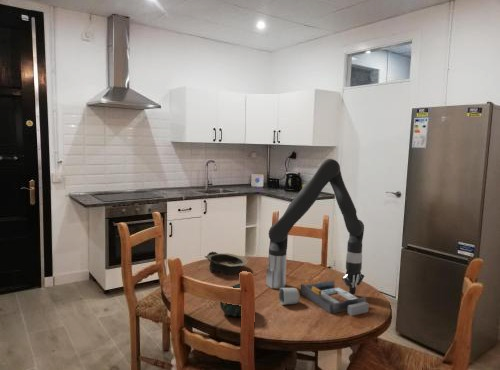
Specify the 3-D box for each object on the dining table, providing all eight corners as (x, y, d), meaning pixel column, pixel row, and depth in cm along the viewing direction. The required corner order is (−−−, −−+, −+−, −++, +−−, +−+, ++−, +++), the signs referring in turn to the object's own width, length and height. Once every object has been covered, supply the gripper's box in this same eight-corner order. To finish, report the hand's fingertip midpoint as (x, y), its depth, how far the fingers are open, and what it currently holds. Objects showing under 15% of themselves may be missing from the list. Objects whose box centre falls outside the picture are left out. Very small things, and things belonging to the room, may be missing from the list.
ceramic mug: (300, 305, 178) (301, 289, 177) (284, 307, 175) (284, 291, 175) (291, 297, 188) (291, 281, 187) (275, 298, 185) (276, 283, 185)
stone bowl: (195, 271, 220) (196, 255, 220) (223, 263, 241) (224, 248, 240) (230, 280, 206) (231, 263, 206) (255, 271, 227) (256, 255, 226)
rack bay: (330, 313, 170) (331, 298, 169) (300, 293, 192) (301, 280, 191) (365, 306, 179) (366, 291, 178) (332, 287, 201) (333, 274, 200)
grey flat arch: (314, 290, 191) (338, 286, 198) (314, 295, 192) (338, 290, 198) (338, 305, 175) (363, 299, 182) (338, 310, 176) (363, 304, 182)
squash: (214, 295, 173) (223, 279, 163) (245, 292, 180) (255, 276, 169) (221, 326, 165) (231, 310, 155) (253, 321, 171) (264, 306, 161)
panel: (351, 316, 169) (351, 307, 168) (347, 314, 171) (347, 305, 170) (368, 312, 173) (368, 303, 173) (364, 310, 175) (364, 301, 175)
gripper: (359, 256, 195) (357, 289, 197) (338, 259, 189) (336, 293, 191) (369, 260, 189) (367, 294, 191) (348, 264, 183) (346, 299, 185)
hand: (352, 294), depth 191 cm, fingers closed
